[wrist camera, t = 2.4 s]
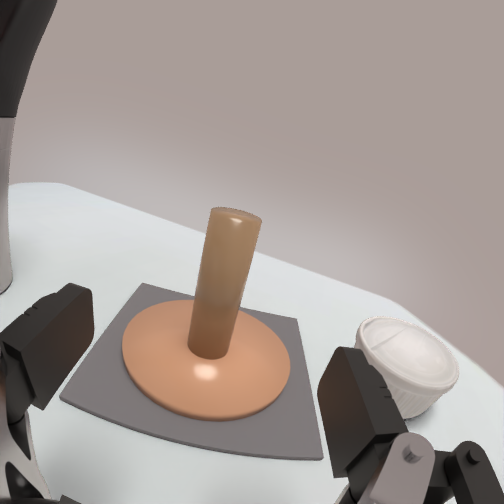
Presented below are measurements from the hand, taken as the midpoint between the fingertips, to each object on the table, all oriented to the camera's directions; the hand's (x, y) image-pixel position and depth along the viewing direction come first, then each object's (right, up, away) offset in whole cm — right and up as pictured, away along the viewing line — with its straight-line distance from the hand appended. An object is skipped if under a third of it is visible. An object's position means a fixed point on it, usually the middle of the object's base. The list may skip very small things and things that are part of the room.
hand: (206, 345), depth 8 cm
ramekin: (+15, -11, +15) cm, 23 cm away
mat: (-3, -6, +14) cm, 16 cm away
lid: (-2, -6, +14) cm, 16 cm away
